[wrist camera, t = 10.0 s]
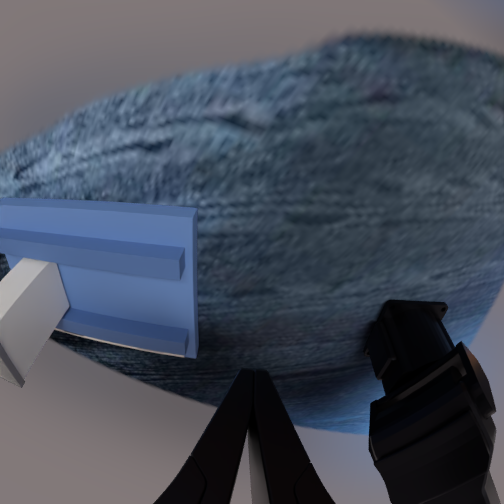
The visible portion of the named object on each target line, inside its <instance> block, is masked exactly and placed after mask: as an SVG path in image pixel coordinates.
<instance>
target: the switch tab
mask: <svg viewBox="0 0 504 504" xmlns="http://www.w3.org/2000/svg"><path fill="white" fill-rule="evenodd" d="M69 306H70V305H69V302H68V299H67V296H66V293H65V290H64V287H63V284H62V280H61V277H60V274H59V270H58V267H57V263H53V262H47V261H41V260H35V259H30V258H23V259H22V260H21V261H20V262H19V263H18V264H17V265H16V266H15V267H14V268H13V269H12V270H11V271H10V272H9V273H8V274H7V275H6V276H5V277H4V278H3V279H2V280H1V281H0V377H1V378H3V379H5V380H6V381H8V382H11V383H13V384H15V385H17V386H19V387H21V388H22V387H23V385H24V383H25V381H24V379H25V377H26V375H27V374H28V372H29V370H30V368H31V367H32V365H33V363H34V361H35V360H36V358H37V356H38V355H39V353H40V351H41V350H42V348H43V346H44V345H45V343H46V342H47V340H48V338H49V337H50V335H51V334H52V332H53V330H54V329H55V327H56V326H57V324H58V323H59V321H60V320H61V318H62V317H63V315H64V314H65V312H66V311H67V309H68V308H69Z"/></svg>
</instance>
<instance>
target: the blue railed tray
mask: <svg viewBox="0 0 504 504" xmlns="http://www.w3.org/2000/svg"><path fill="white" fill-rule="evenodd" d="M197 217H198V208H192V207H180V206H167V205H154V204H140V203H124V202H108V201H89V200H67V199H40V198H2V199H0V253H2V254H5V255H6V258H7V261H8V264H9V267H10V270H12V269H13V268H14V267H15V266H16V265H17V264H18V263H19V262H20V261H21V260H22V259H23V258H30V259H35V260H41V261H47V262H53V263H57V267H58V270H59V274H60V277H61V280H62V284H63V287H64V290H65V293H66V296H67V299H68V302H69V305H70V306H69V308H68V309H67V311H66V312H65V314H64V315H63V317H62V318H61V320H60V321H59V323H58V324H57V326H56V327H55V329H54V330H58V331H61V332H65V333H69V334H72V335H76V336H80V337H84V338H88V339H92V340H96V341H100V342H105V343H109V344H114V345H118V346H123V347H128V348H133V349H138V350H143V351H148V352H154V353H159V354H165V355H171V356H177V357H189V358H196V357H197V352H198V348H199V335H198V296H197Z"/></svg>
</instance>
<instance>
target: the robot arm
mask: <svg viewBox="0 0 504 504" xmlns="http://www.w3.org/2000/svg"><path fill="white" fill-rule="evenodd" d="M392 305H393V306H392ZM390 306H392V307H390ZM447 309H448V306H447V304H446V303H445V302H426V301H405V300H390V301H388V302H387V303H386V304H385V306H384V309H383V311H382V313H381V315H380V317H379V320H378V322H377V323H376V324H375V326H374V328H373V330H372V333H371V335H370V337H369V339H368V341H367V343H366V346H365V348H364V351H363V352H364V355H365V356H367V357H370V358H371V361H372V365H373V368H374V372H375V376H376V378H377V379H378V380H382V384H383V388H384V391H385V396H384V397H382V398H380V399H379V400H375V401H373V402H371V403H370V426H369V452H370V454H371V457H372V459H373V461H374V466H375V467H376V468H377V470H378V471H379V473H380V474H381V476H382V478H383V480H384V482H385V484H386V488H387V491H388V494H389V498H390V501H391V503H392V504H501V503H500V500H499V497H498V494H497V491H496V488H495V485H494V483H493V480H492V477H491V474H490V471H489V469H490V464H491V460H492V454H493V449H494V443H495V437H496V427H495V424H494V422H493V419H492V417H491V415H492V414H494V413H495V412H496V407H495V404H494V399H493V395H492V392H491V388H490V384H489V381H488V379H487V377H486V375H485V373H484V371H483V369H482V367H481V365H480V364H479V362H478V360H477V359H476V358H475V356H474V355H473V354H472V353H471V352H470V350H469V349H468V348H467V347H466V346H465V345H464V344H463V342H462V341H460V342H459V343H458V344H457V345H456V347H455V346H454V344H453V342H452V340H451V338H450V336H449V335H448V333H447V331H446V329H445V327H444V325H443V323H442V322H441V320H442V318H443V317H444V315H445V313H446V311H447ZM247 430H248V448H249V464H250V479H251V494H252V504H335V502H334V501H333V499H332V498H331V496H330V495H329V493H328V492H327V490H326V489H325V487H324V486H323V484H322V482H321V480H320V478H319V477H318V475H317V473H316V471H315V469H314V467H313V465H312V463H310V459H309V457H308V455H307V453H306V451H305V449H304V447H303V445H302V443H301V441H300V439H299V436H298V434H297V432H296V430H295V428H294V426H293V424H292V422H291V420H290V417H289V415H288V413H287V411H286V409H285V407H284V405H283V403H282V400H281V398H280V396H279V394H278V392H277V390H276V387H275V385H274V383H273V381H272V379H271V377H270V374H269V372H268V371H267V370H260V369H255V370H254V371H253V369H248V368H241V369H240V370H239V371H238V373H237V375H236V377H235V378H234V380H233V382H232V384H231V386H230V387H229V389H228V391H227V393H226V394H225V396H224V398H223V400H222V401H221V403H220V405H219V407H218V408H217V410H216V412H215V414H214V416H213V417H212V419H211V421H210V422H209V424H208V426H207V427H206V429H205V431H204V433H203V434H202V436H201V438H200V440H199V441H198V443H197V444H196V446H195V448H194V449H193V451H192V453H191V456H189V457H188V459H187V461H186V463H185V464H184V465H183V467H182V468H181V470H180V472H179V473H178V474H177V476H176V477H175V479H174V480H173V481H172V482H171V484H170V485H169V486H168V487H167V489H166V490H165V491H164V492H163V493H162V494H161V495H160V497H159V498H158V499H157V500H156V501H155V502H154V503H153V504H230V502H231V498H232V494H233V490H234V485H235V482H236V477H237V473H238V469H239V465H240V461H241V456H242V452H243V448H244V443H245V439H246V435H247Z"/></svg>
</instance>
